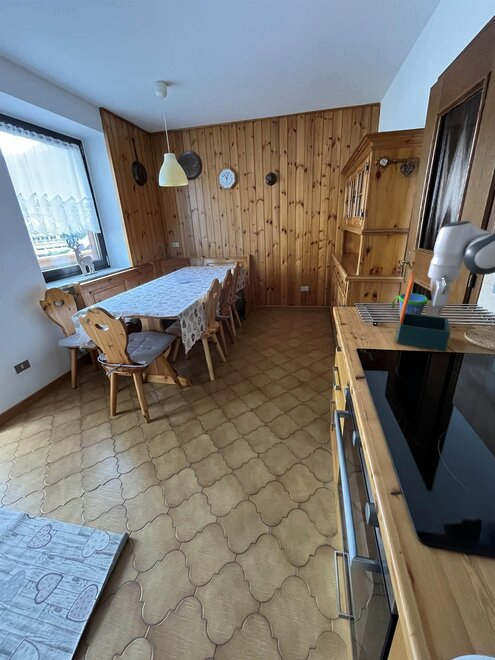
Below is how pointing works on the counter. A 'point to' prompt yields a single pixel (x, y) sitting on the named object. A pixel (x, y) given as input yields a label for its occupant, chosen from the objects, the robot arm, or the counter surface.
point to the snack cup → (412, 303)
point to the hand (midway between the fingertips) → (433, 309)
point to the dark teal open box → (424, 331)
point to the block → (429, 310)
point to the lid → (407, 297)
